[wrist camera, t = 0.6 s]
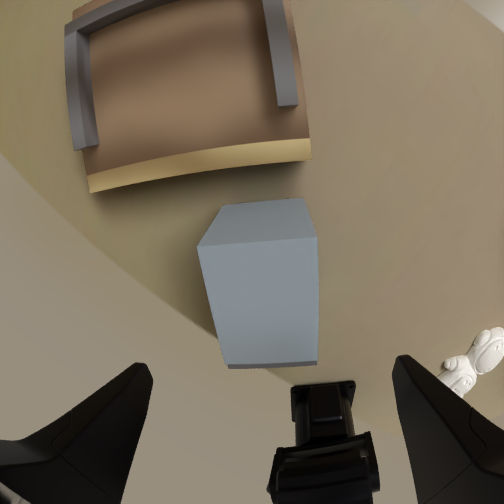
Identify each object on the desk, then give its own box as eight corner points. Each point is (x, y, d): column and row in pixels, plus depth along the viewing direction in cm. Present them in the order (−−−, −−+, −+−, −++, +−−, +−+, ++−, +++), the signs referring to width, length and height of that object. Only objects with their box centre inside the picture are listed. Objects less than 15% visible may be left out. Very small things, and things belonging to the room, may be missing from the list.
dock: (306, 155, 17) (315, 163, 14) (109, 184, 19) (78, 199, 15) (278, -32, 11) (277, -62, 8) (91, 18, 13) (60, 6, 10)
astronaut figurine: (415, 377, 25) (423, 397, 23) (499, 312, 21) (513, 328, 19) (435, 402, 28) (442, 420, 25) (507, 348, 23) (517, 363, 21)
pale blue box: (307, 296, 21) (317, 370, 15) (242, 300, 22) (227, 373, 15) (302, 194, 18) (317, 237, 11) (225, 201, 19) (196, 247, 12)
